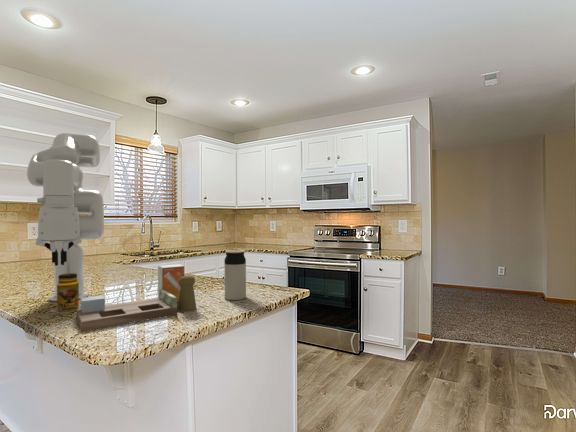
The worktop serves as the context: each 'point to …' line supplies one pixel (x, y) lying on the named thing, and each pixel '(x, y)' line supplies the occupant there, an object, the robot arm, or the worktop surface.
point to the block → (92, 304)
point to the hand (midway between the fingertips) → (59, 264)
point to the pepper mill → (186, 294)
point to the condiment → (67, 294)
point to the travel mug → (235, 275)
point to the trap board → (129, 312)
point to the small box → (170, 278)
